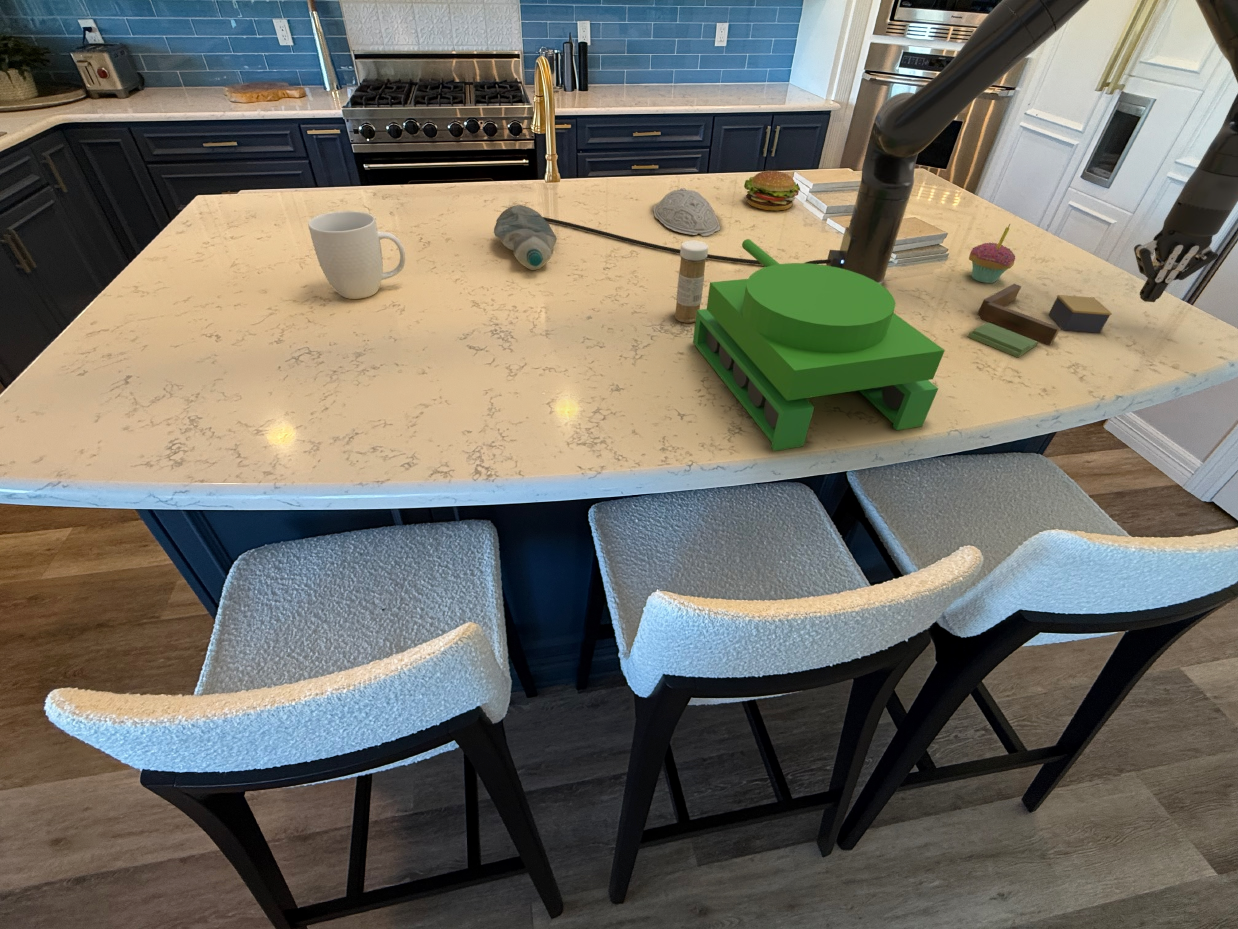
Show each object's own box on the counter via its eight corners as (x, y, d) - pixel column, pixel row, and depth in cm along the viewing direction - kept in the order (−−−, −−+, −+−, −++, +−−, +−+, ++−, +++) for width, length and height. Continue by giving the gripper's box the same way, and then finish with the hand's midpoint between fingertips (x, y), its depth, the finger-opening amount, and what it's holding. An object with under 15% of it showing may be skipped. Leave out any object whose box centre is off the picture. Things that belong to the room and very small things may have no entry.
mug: (408, 274, 123) (395, 206, 115) (414, 298, 116) (401, 226, 107) (326, 283, 119) (307, 212, 111) (327, 308, 111) (306, 234, 103)
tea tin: (1062, 330, 115) (1073, 310, 112) (1047, 314, 120) (1057, 294, 117) (1100, 333, 114) (1112, 313, 112) (1083, 316, 119) (1094, 297, 117)
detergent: (492, 234, 141) (498, 277, 122) (491, 201, 137) (498, 240, 118) (550, 237, 144) (565, 279, 125) (551, 204, 140) (567, 243, 121)
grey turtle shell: (704, 199, 165) (705, 172, 160) (730, 238, 147) (732, 209, 142) (646, 205, 164) (645, 179, 159) (665, 246, 146) (664, 217, 141)
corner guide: (997, 341, 111) (1004, 325, 109) (962, 294, 125) (968, 280, 124) (1055, 345, 110) (1063, 330, 108) (1012, 298, 125) (1019, 283, 123)
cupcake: (1009, 288, 128) (1036, 229, 121) (966, 284, 129) (990, 225, 122) (999, 272, 135) (1024, 215, 127) (957, 268, 136) (979, 211, 128)
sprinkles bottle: (690, 310, 116) (699, 237, 107) (704, 321, 112) (713, 247, 104) (669, 315, 114) (676, 241, 105) (682, 326, 111) (690, 250, 102)
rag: (967, 336, 112) (970, 329, 111) (986, 326, 115) (989, 319, 114) (1018, 357, 106) (1021, 350, 105) (1036, 345, 110) (1039, 338, 109)
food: (806, 204, 167) (813, 172, 162) (779, 216, 158) (785, 183, 153) (761, 192, 173) (766, 161, 168) (733, 203, 165) (738, 171, 160)
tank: (803, 316, 115) (825, 226, 105) (925, 425, 90) (970, 321, 79) (680, 330, 110) (689, 236, 99) (772, 451, 84) (799, 342, 74)
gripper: (1234, 195, 105) (1172, 293, 116) (1151, 191, 105) (1098, 289, 116) (1265, 210, 99) (1197, 311, 110) (1177, 205, 100) (1119, 306, 111)
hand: (1146, 300), depth 113 cm, fingers closed
